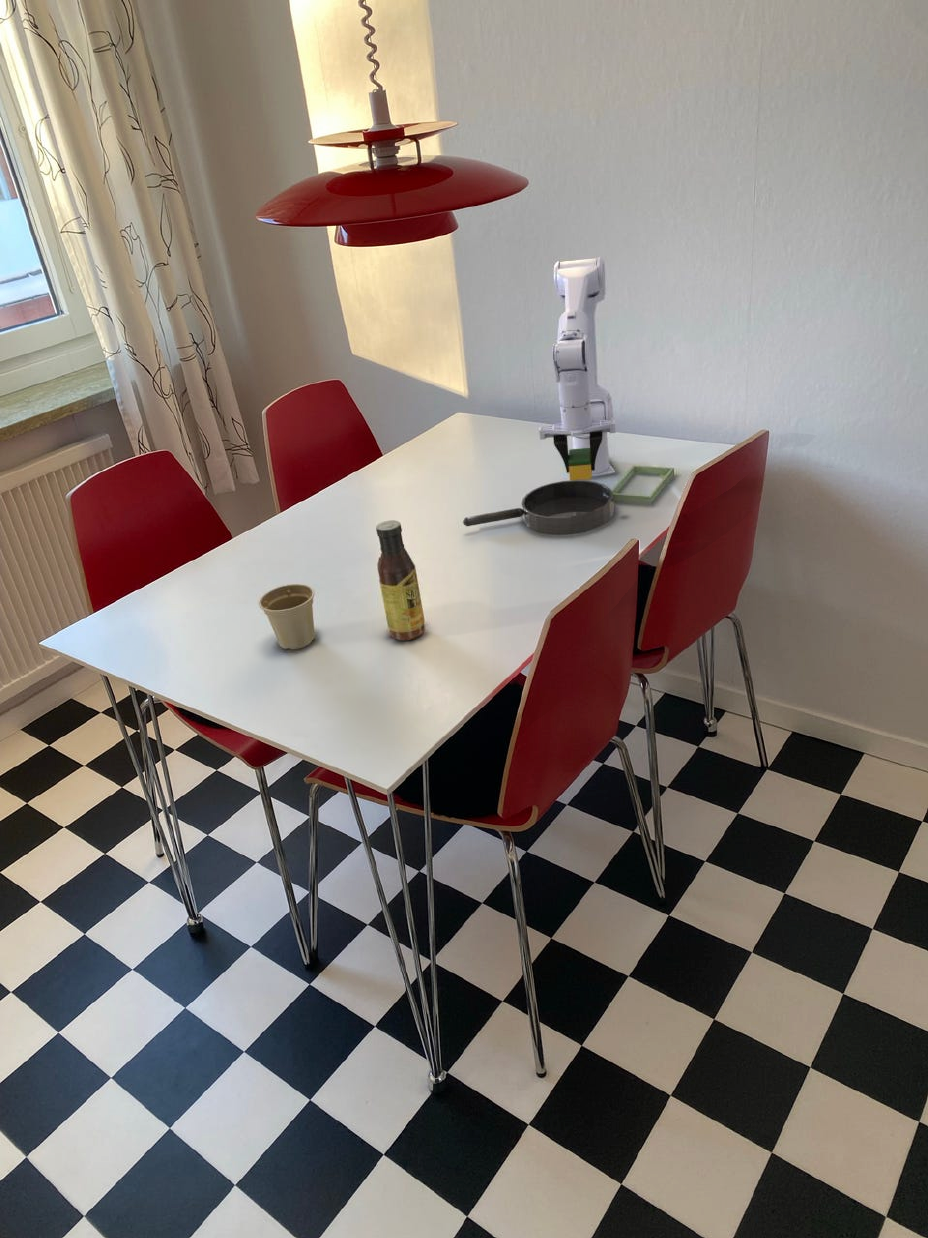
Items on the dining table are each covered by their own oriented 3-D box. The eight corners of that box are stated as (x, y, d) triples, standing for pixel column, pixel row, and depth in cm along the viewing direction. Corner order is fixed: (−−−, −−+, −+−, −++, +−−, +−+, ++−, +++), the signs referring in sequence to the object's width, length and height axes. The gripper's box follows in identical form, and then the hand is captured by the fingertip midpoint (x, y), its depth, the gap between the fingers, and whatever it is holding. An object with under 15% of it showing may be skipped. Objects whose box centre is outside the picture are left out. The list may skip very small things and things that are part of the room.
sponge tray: (633, 473, 211) (633, 465, 210) (674, 476, 207) (674, 467, 206) (608, 502, 200) (607, 493, 199) (651, 505, 196) (650, 497, 195)
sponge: (570, 467, 197) (569, 449, 196) (591, 465, 197) (590, 447, 195) (570, 480, 192) (568, 462, 190) (591, 479, 191) (590, 460, 189)
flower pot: (299, 621, 175) (288, 578, 170) (336, 634, 169) (325, 590, 165) (259, 646, 169) (247, 603, 165) (295, 660, 163) (283, 616, 159)
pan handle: (523, 514, 196) (522, 505, 195) (524, 517, 195) (523, 509, 194) (463, 524, 196) (461, 516, 195) (464, 528, 194) (463, 520, 193)
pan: (517, 507, 204) (514, 489, 202) (601, 492, 205) (600, 474, 203) (532, 543, 189) (530, 524, 187) (624, 526, 189) (623, 507, 187)
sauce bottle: (421, 642, 163) (401, 534, 153) (385, 642, 164) (363, 535, 154) (430, 621, 168) (411, 516, 158) (395, 622, 170) (374, 517, 160)
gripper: (535, 413, 185) (542, 480, 192) (613, 406, 182) (618, 474, 189) (537, 401, 191) (544, 466, 198) (613, 394, 188) (617, 460, 195)
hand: (580, 469), depth 194 cm, fingers closed on sponge, 4 cm apart
